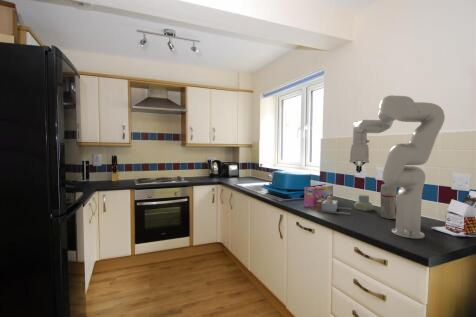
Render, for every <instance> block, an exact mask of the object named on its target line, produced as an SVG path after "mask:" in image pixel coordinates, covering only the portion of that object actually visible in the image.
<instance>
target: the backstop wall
mask: <svg viewBox="0 0 476 317" xmlns="http://www.w3.org/2000/svg"><path fill="white" fill-rule="evenodd" d="M324 200H325V198H322V197H321V198H320V199H319V200H318V201H317V205H316V207H315V208H316V212H319V213H320V212H321V203H322V202H323V201H324Z"/></svg>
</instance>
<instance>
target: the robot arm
mask: <svg viewBox="0 0 476 317" xmlns="http://www.w3.org/2000/svg"><path fill="white" fill-rule="evenodd" d="M394 121H398V122H401V123H402V122H403V123H421V124H420V125H418V126H417V127H416V128H415V130H413V133H412V134H411V138H410V140H409V141H408V143H397V144H395V145H394V146H392V147H391V148H390V150H389V151H388V155H387V158H386V162H385V165H384V168H383V171H382V182H383V184H386V185H387V186H389V187H396V188H399V189H398V191H397V192H396V196H397V199H396V219H395V227H393V228H391V233H393V235H395V236H399V237H402V238H407V239H414V240H415V239H416V240H417V239H418V240H419V239H424V238H425V233H424V232H422V231H421V225H422V224H421V223H422V222H421V221H422V220H421V219H422V199H423V189H424V186H425V181H426V173H425V171H424V170H423V169H422V168H421V167H418V166H422V165H425V164H426V163H427V162H428V160H429V158H430V156H431V154H432V151H433V147H434V146H435V143H436V140H437V137H438V134H439V133H440V131H441V129H442V127H443V125H444V122H445V112H444V109H443V108H442V107H441V106H440V105H439V104H436V103H432V102H421V101H420V102H419V101H416V102H415V101H414V99H413V98H412V97H410V96H406V95H387V96H385V97H383V99H381V101H380V103H379V110H378V119H362V120H360V121H355V122H354V123H353V126H352V128H353V129H352V144H351V145H350V154H349V161H348V162H349V163H351V164H354V165H355V171H356V173H357V174H358V173H359V174H361V172H362V171H363V170H362V169H363V165H365V164H369V163H370V160H369V159H370V158H369V156H370V154H369V153H370V152H369V149H370V148H369V143H370V140H368V134H381V133H384V132H386V131H387V130H389V129H390V128H392V125H393V123H394ZM358 162H360V164H359V163H358Z"/></svg>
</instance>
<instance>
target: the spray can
mask: <svg viewBox="0 0 476 317" xmlns="http://www.w3.org/2000/svg"><path fill="white" fill-rule="evenodd" d="M397 192H398V191H397V187H389V186H387V185H386V184H385V183H383V184H381V186H380V217H381V218H383V219H387V220H389V219H390V220H396V205H397Z"/></svg>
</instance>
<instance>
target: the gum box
mask: <svg viewBox="0 0 476 317" xmlns="http://www.w3.org/2000/svg"><path fill="white" fill-rule="evenodd" d="M303 188H304V191H303V192H304V195H303V197H304V198H303V199H304V200H303V207H304V208H309V207H312V208H316V205H317V201H318V200H319V199H320V198H321V197H322V198H325V200H327V196H332V200H334V185H332V184H331V185H328V184H325V183H324V184H323V183H322V184H316V185H308V186H304V187H303Z"/></svg>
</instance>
